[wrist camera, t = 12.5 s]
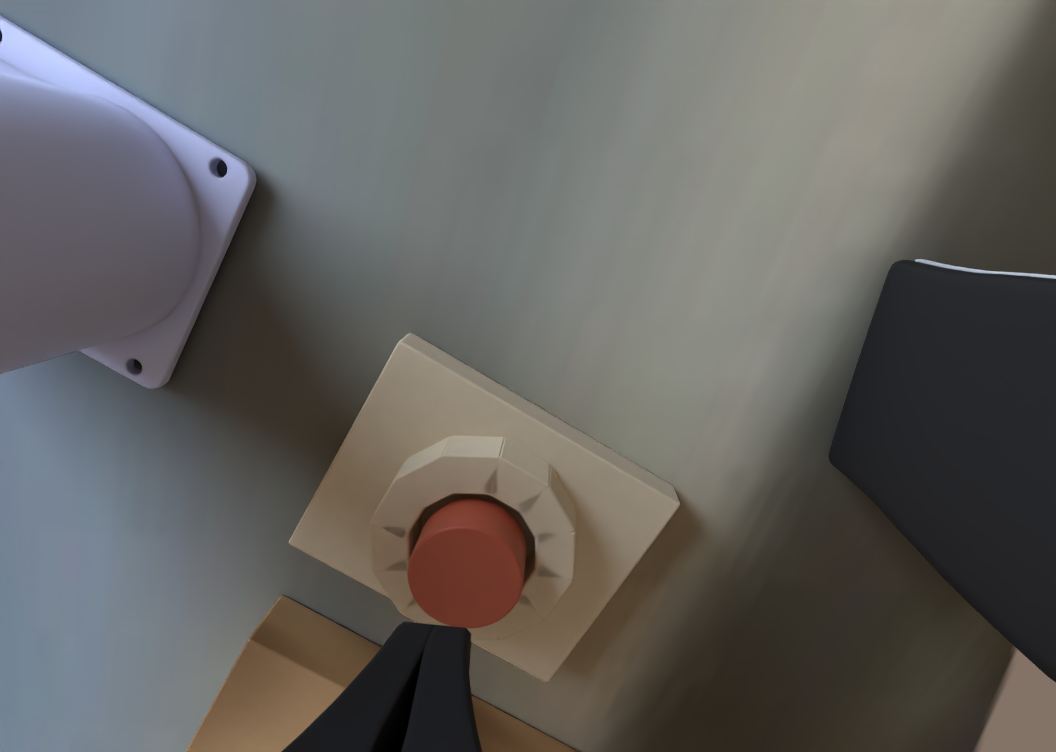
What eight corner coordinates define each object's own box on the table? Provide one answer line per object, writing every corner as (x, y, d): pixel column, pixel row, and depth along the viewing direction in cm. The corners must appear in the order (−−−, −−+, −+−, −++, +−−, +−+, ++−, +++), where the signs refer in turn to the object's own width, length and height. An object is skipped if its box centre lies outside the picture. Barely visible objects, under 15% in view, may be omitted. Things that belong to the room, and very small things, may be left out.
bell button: (401, 560, 19) (386, 595, 17) (452, 477, 18) (441, 505, 16) (492, 609, 19) (486, 648, 18) (546, 531, 18) (545, 564, 17)
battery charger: (934, 486, 20) (1382, 824, 9) (818, 465, 20) (1126, 778, 9) (1016, 271, 18) (1705, 373, 7) (888, 248, 18) (1382, 315, 7)
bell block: (304, 523, 22) (264, 571, 19) (409, 330, 20) (384, 352, 17) (548, 656, 23) (546, 722, 20) (674, 485, 21) (692, 531, 18)
